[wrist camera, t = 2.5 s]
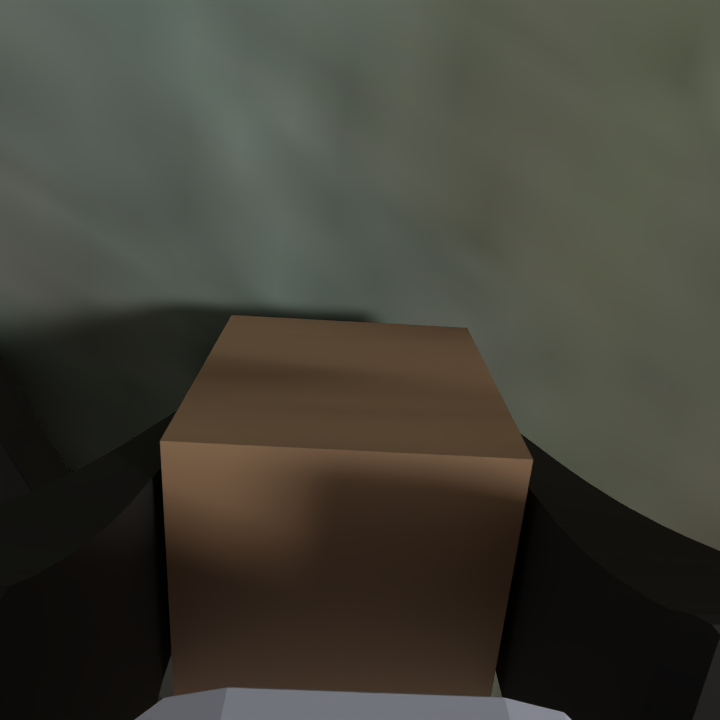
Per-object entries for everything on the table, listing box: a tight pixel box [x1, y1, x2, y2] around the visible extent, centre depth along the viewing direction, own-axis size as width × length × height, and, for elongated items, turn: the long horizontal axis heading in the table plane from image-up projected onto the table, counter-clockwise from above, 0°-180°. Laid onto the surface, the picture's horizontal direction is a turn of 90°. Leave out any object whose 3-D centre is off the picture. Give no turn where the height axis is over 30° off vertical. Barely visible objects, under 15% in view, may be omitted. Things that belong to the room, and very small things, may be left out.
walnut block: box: [160, 315, 533, 696], centre depth 11 cm, size 4×4×5 cm
